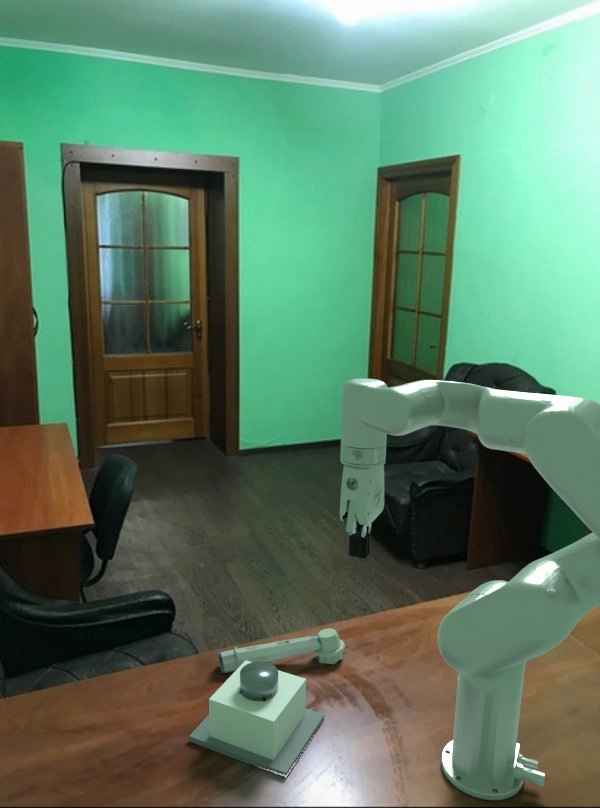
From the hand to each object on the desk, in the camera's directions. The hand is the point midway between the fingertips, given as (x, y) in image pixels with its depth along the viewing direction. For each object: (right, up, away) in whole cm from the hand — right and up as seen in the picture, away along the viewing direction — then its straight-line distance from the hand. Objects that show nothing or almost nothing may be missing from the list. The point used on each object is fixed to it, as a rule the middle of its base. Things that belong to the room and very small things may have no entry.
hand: (359, 555), depth 113 cm
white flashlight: (-14, -26, +18) cm, 34 cm away
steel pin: (-17, -28, -2) cm, 33 cm away
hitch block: (-17, -30, -1) cm, 34 cm away
